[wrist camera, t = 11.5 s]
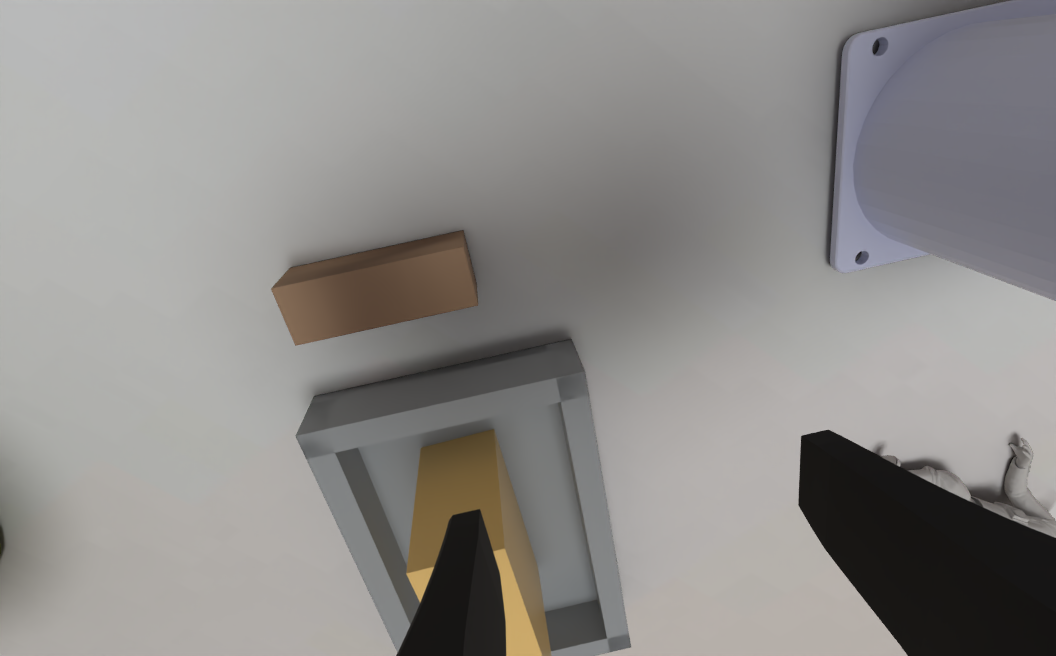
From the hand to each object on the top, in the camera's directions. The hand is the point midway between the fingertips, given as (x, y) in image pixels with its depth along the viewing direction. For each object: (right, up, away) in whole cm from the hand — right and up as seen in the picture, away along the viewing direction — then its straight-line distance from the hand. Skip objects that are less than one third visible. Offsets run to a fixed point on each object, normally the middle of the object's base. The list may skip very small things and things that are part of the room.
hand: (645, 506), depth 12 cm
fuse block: (-5, -4, +11) cm, 13 cm away
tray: (-4, -4, +12) cm, 13 cm away
